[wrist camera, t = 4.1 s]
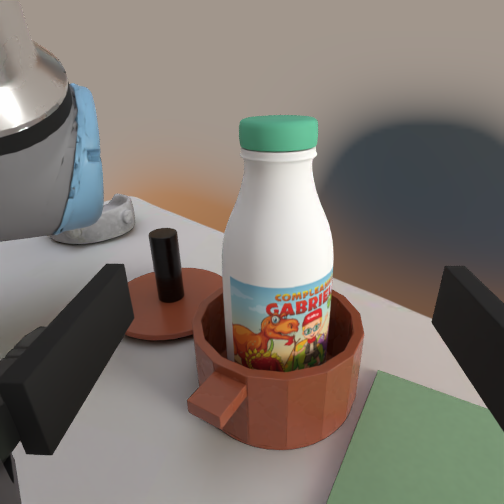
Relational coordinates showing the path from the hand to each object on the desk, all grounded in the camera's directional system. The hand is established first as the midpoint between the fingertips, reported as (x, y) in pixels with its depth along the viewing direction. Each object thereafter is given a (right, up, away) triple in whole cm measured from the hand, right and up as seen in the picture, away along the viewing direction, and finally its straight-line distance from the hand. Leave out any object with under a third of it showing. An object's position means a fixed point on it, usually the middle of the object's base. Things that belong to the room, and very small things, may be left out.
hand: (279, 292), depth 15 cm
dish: (-28, +5, +45) cm, 53 cm away
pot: (+1, -9, +14) cm, 17 cm away
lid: (-10, -4, +24) cm, 26 cm away
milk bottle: (+1, -9, +14) cm, 17 cm away
